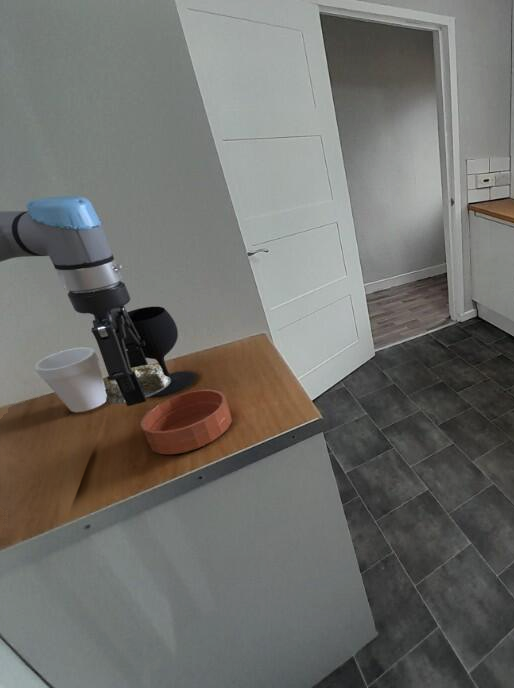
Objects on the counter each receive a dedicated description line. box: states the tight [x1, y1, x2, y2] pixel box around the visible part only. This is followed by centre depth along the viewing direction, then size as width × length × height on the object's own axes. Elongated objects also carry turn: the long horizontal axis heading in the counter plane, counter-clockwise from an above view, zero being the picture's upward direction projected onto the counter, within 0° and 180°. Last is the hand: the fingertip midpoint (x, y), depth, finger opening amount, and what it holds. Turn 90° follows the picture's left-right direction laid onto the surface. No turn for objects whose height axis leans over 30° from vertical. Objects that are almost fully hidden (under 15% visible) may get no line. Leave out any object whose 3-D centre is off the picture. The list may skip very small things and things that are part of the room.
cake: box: [104, 364, 171, 405], centre depth 81 cm, size 10×10×5 cm
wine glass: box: [126, 306, 196, 398], centre depth 99 cm, size 10×10×20 cm
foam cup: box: [34, 346, 107, 413], centre depth 93 cm, size 10×9×13 cm
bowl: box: [140, 388, 233, 455], centre depth 87 cm, size 14×14×6 cm
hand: (140, 389), depth 82 cm, fingers closed on cake, 10 cm apart
